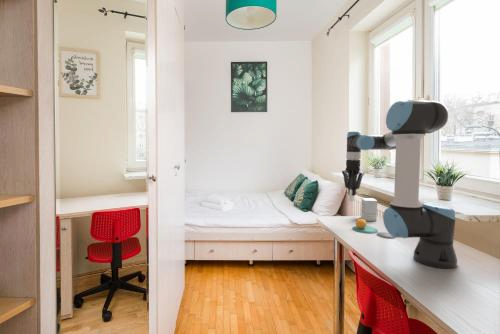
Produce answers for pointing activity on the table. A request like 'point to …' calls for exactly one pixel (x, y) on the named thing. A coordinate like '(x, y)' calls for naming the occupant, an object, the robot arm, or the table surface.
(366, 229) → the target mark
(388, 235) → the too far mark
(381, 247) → the table surface
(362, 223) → the ball
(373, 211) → the supplement box
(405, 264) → the table surface
